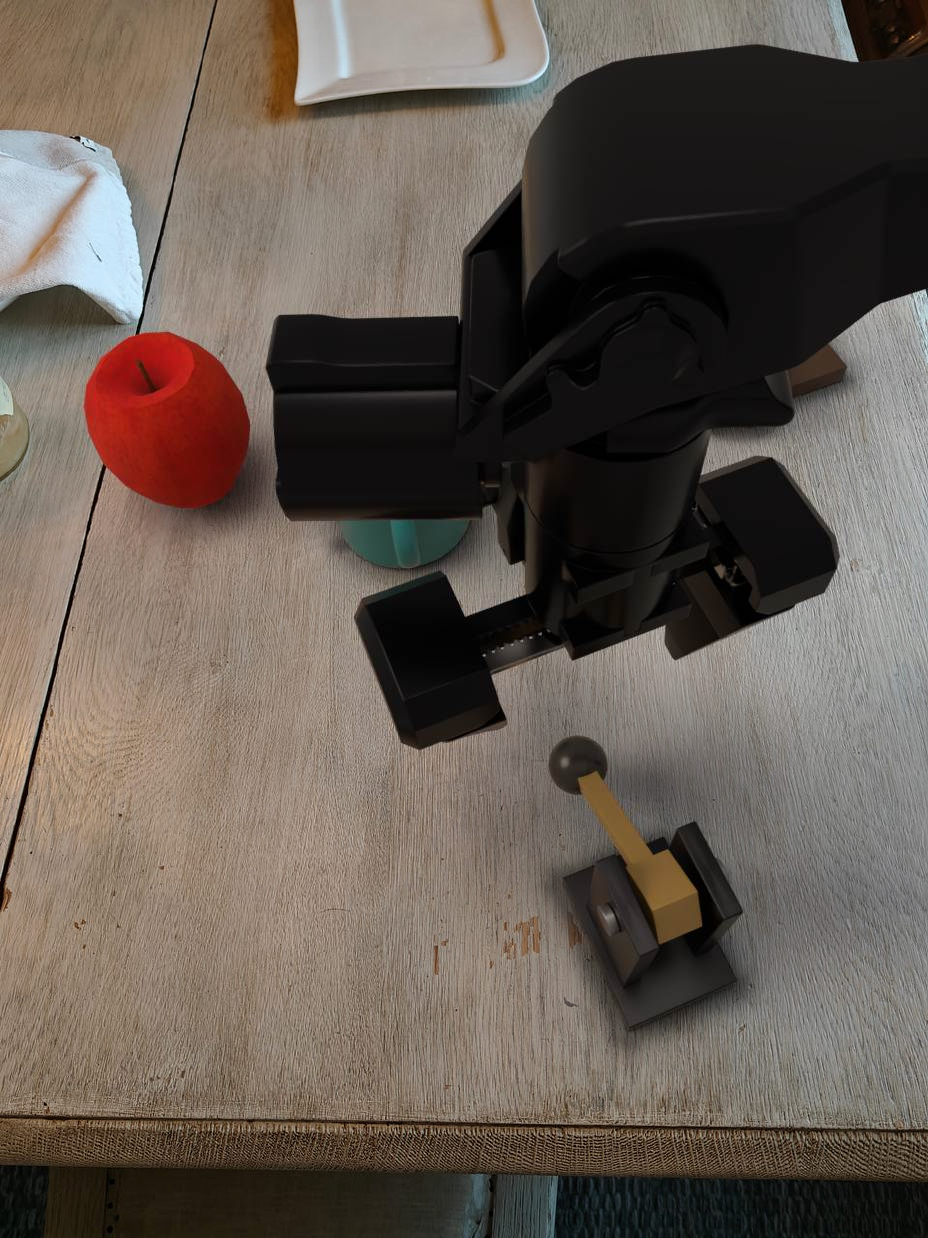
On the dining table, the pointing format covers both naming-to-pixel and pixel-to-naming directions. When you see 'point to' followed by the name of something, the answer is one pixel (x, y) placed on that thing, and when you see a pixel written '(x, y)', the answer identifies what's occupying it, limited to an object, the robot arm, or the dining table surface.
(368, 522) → the cup
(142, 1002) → the dining table surface
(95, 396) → the apple
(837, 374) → the button block
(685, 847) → the switch bracket
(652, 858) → the switch lever
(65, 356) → the dining table surface
